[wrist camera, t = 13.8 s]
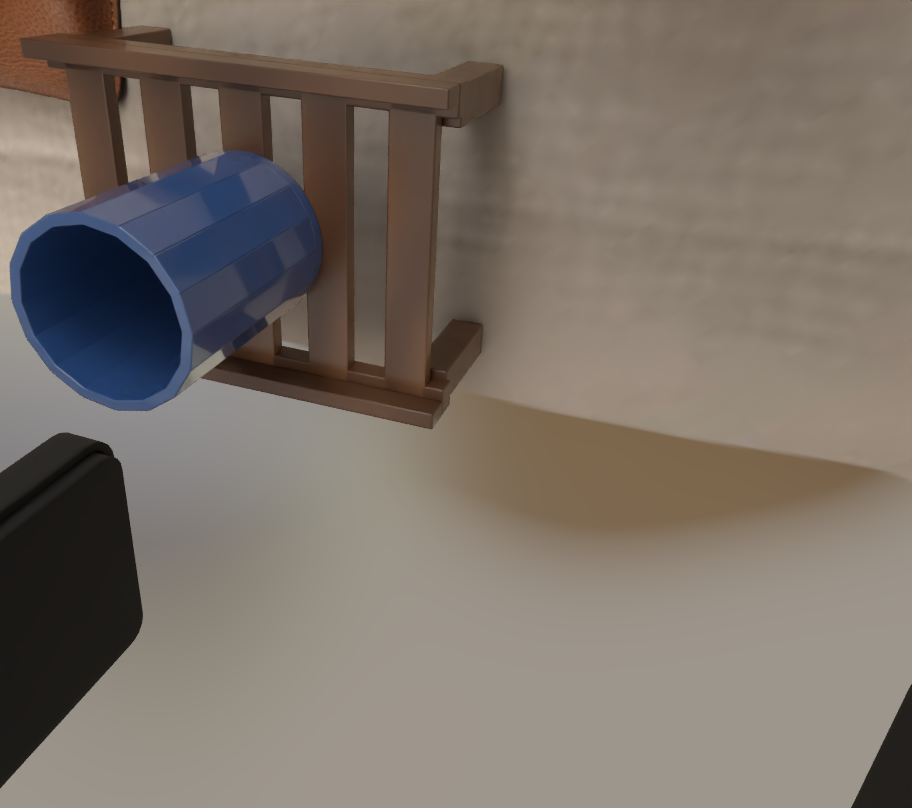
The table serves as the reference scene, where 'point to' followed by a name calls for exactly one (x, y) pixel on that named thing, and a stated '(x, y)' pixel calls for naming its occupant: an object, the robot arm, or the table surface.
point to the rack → (325, 184)
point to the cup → (164, 276)
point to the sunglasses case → (40, 13)
